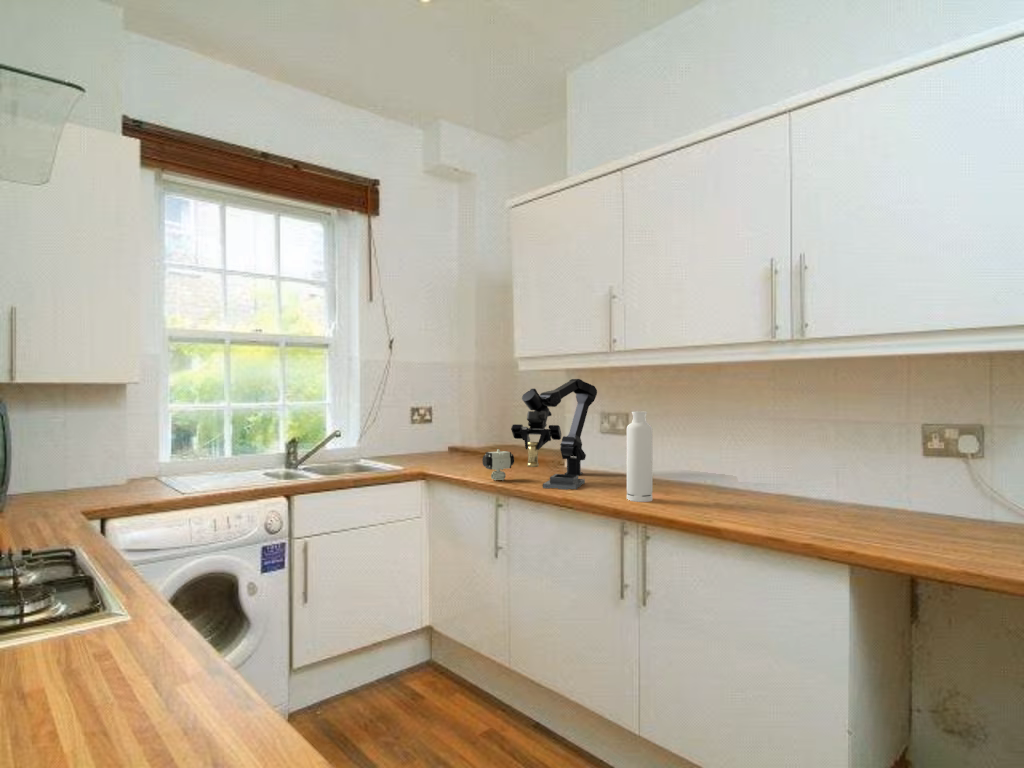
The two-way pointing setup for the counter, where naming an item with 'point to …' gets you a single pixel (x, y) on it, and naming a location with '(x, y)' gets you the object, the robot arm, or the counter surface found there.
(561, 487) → the plate
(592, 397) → the robot arm
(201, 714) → the counter surface
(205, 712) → the counter surface
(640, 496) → the bottle
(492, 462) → the pneumatic valve
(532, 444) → the brass coupling
